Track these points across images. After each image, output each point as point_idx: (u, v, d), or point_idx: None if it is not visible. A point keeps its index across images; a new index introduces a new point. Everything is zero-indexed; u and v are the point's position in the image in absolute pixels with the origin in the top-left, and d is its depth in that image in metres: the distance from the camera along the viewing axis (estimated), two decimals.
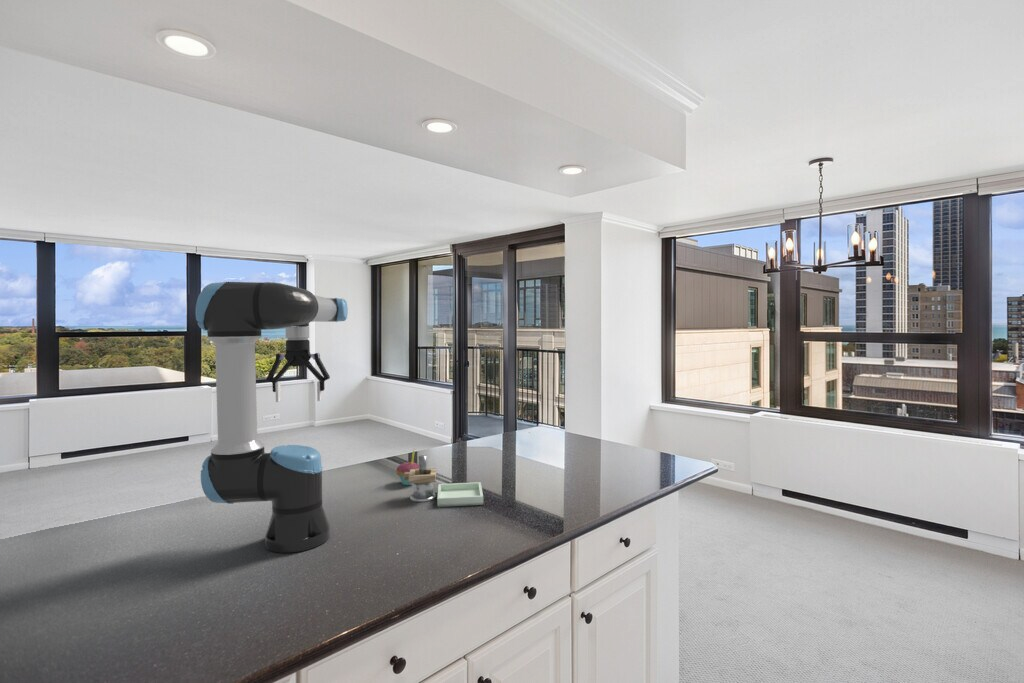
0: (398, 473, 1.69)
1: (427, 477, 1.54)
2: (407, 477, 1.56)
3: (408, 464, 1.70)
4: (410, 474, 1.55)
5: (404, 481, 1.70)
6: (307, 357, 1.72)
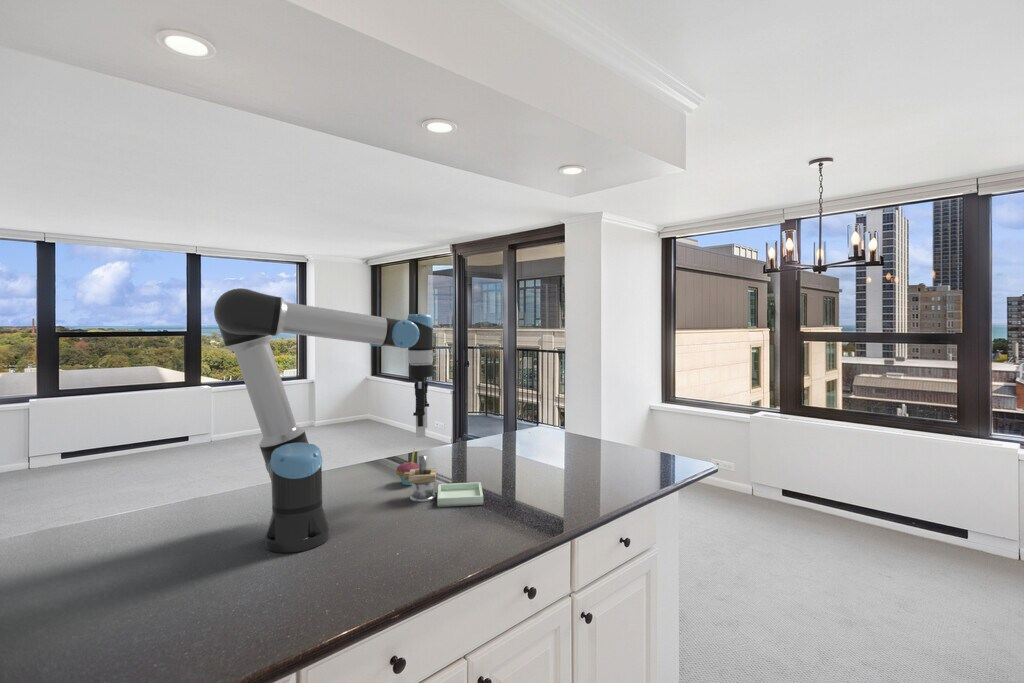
0: (398, 473, 1.69)
1: (427, 477, 1.54)
2: (407, 477, 1.56)
3: (408, 464, 1.70)
4: (410, 474, 1.55)
5: (404, 481, 1.70)
6: None
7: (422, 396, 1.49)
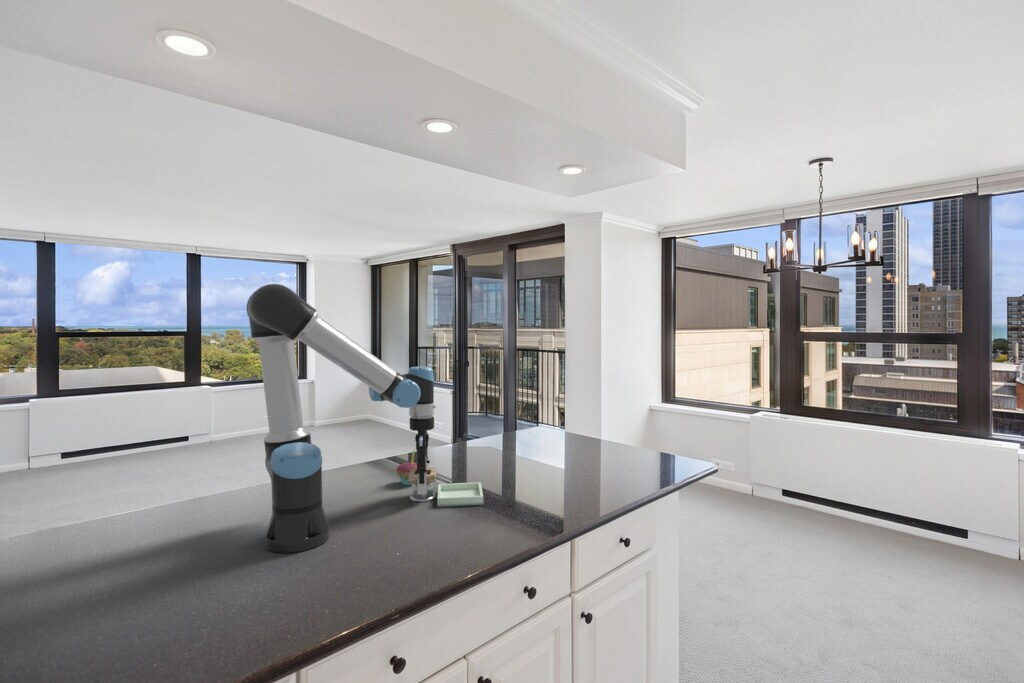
0: (398, 473, 1.69)
1: (427, 477, 1.54)
2: (407, 477, 1.56)
3: (408, 464, 1.70)
4: (410, 474, 1.55)
5: (404, 481, 1.70)
6: (417, 439, 1.54)
7: (423, 454, 1.50)
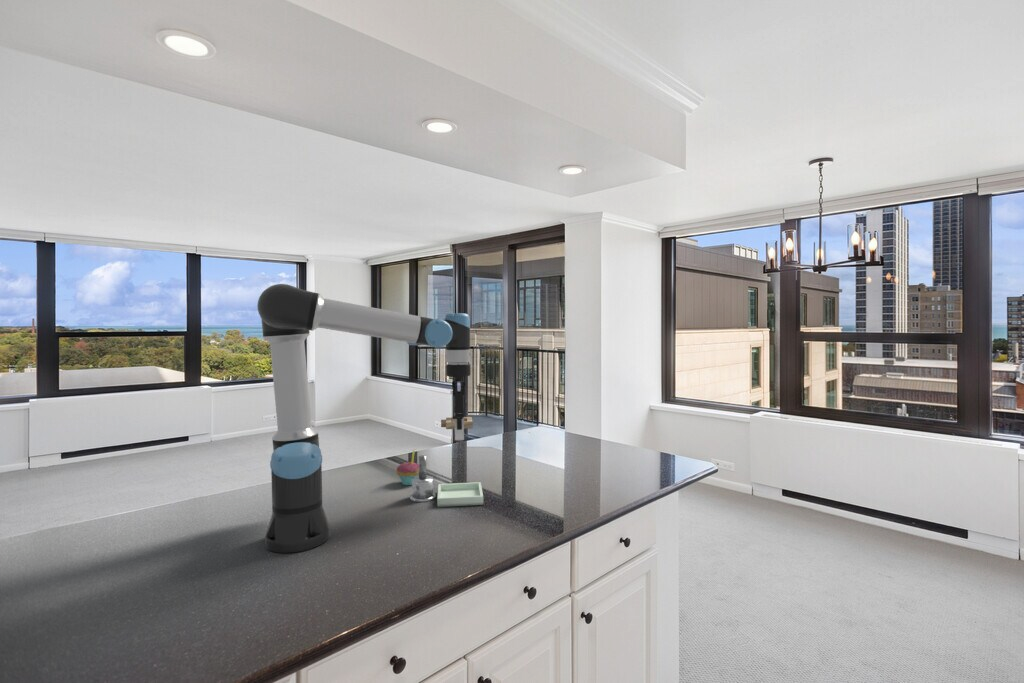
0: (398, 473, 1.69)
1: (464, 423, 1.52)
2: (444, 424, 1.55)
3: (408, 464, 1.70)
4: (447, 421, 1.54)
5: (404, 481, 1.70)
6: None
7: (461, 399, 1.49)
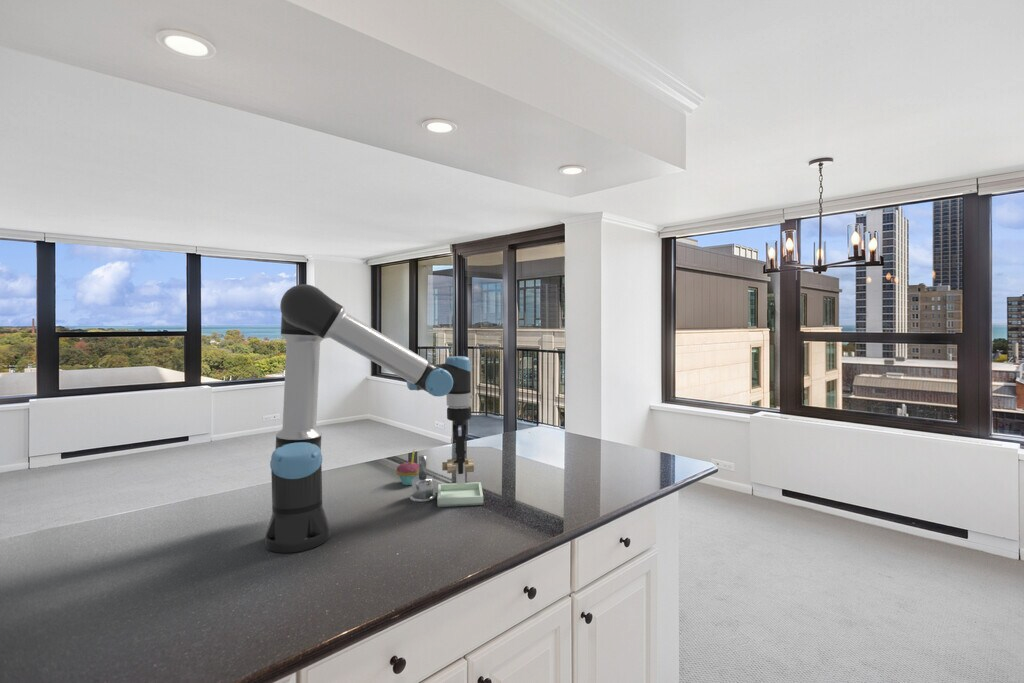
0: (398, 473, 1.69)
1: (466, 467, 1.53)
2: (445, 467, 1.55)
3: (408, 464, 1.70)
4: (448, 464, 1.54)
5: (404, 481, 1.70)
6: (456, 429, 1.53)
7: (462, 444, 1.50)
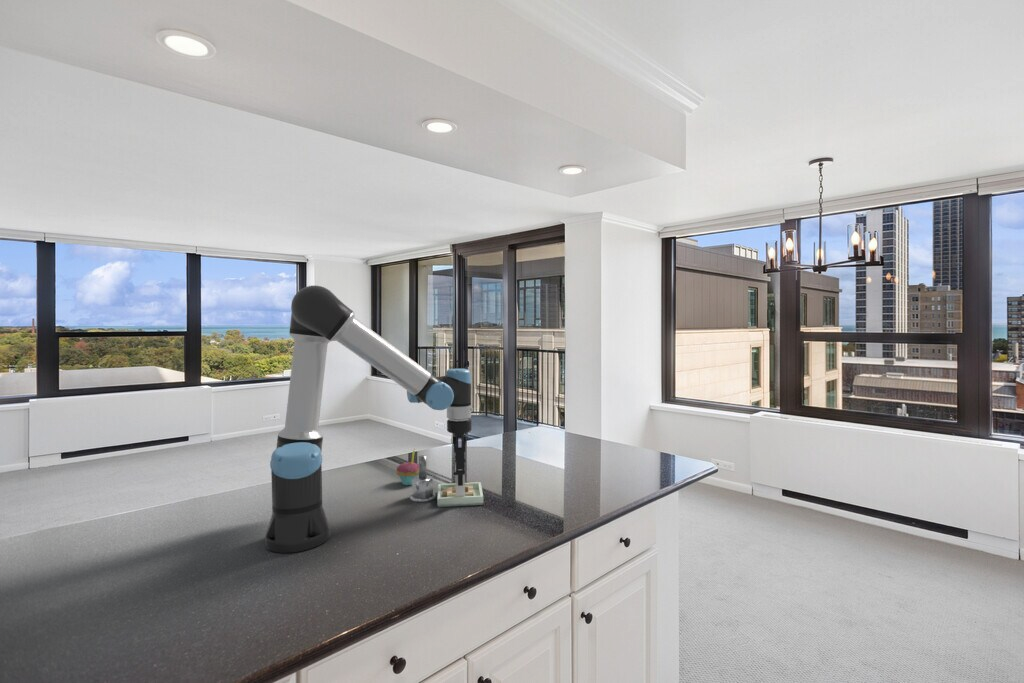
0: (398, 473, 1.69)
1: (465, 495, 1.53)
2: (445, 495, 1.55)
3: (408, 464, 1.70)
4: (448, 492, 1.55)
5: (404, 481, 1.70)
6: None
7: (462, 455, 1.49)
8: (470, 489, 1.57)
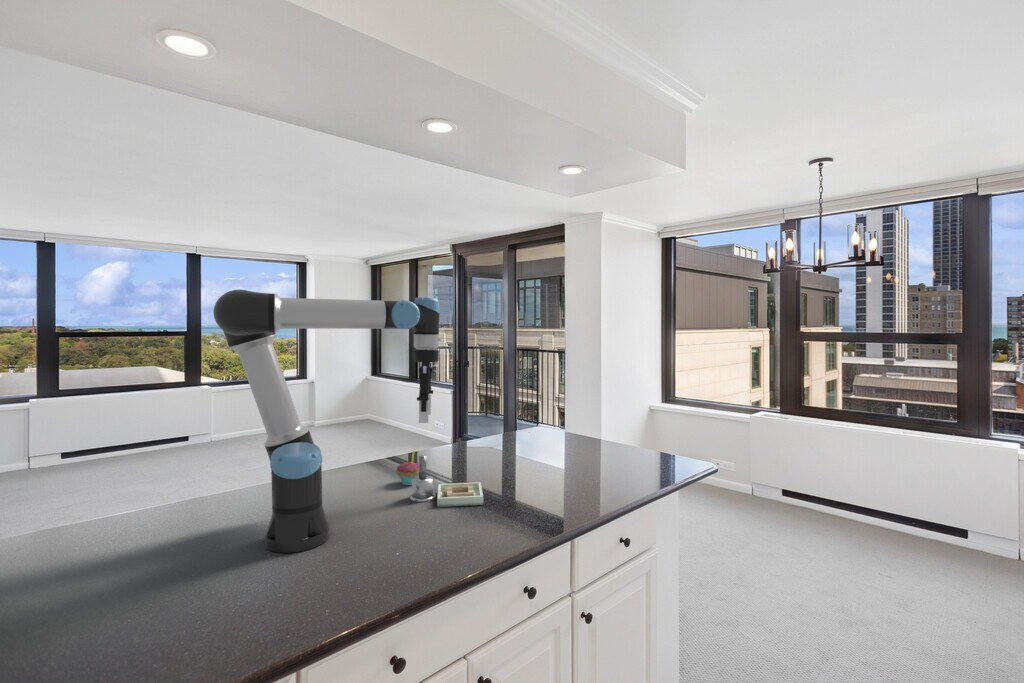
0: (398, 473, 1.69)
1: (465, 495, 1.53)
2: (445, 495, 1.55)
3: (408, 464, 1.70)
4: (448, 492, 1.55)
5: (404, 481, 1.70)
6: None
7: (426, 381, 1.45)
8: (470, 489, 1.57)
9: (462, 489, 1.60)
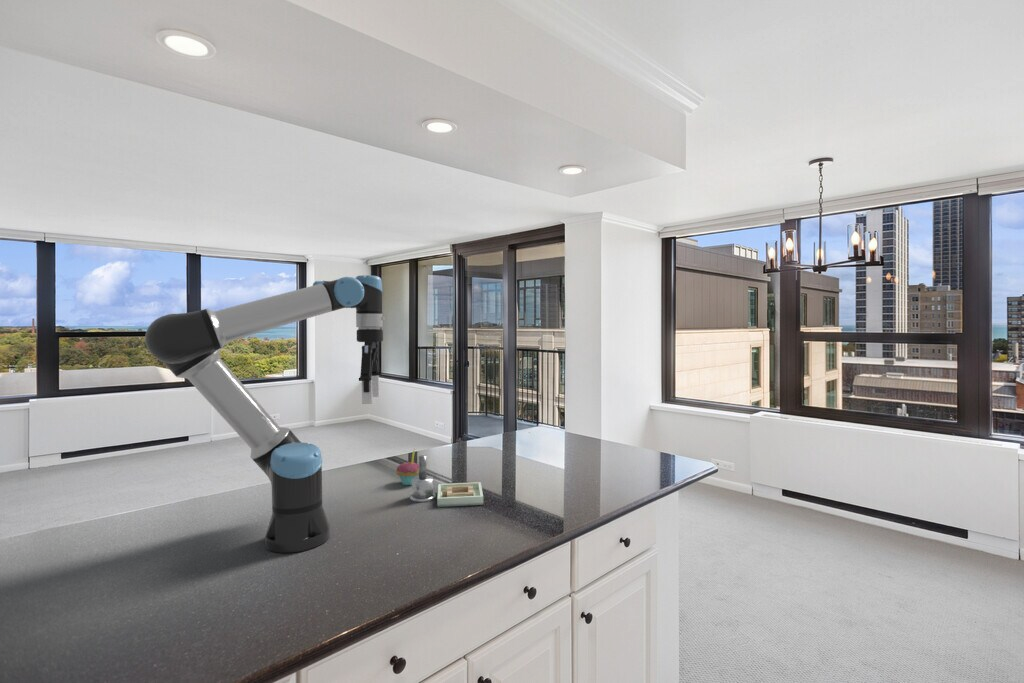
0: (398, 473, 1.69)
1: (465, 495, 1.53)
2: (445, 495, 1.55)
3: (408, 464, 1.70)
4: (448, 492, 1.55)
5: (404, 481, 1.70)
6: None
7: (368, 360, 1.42)
8: (470, 489, 1.57)
9: (462, 489, 1.60)
